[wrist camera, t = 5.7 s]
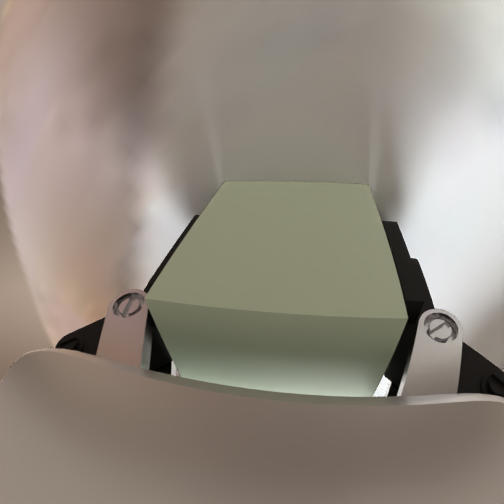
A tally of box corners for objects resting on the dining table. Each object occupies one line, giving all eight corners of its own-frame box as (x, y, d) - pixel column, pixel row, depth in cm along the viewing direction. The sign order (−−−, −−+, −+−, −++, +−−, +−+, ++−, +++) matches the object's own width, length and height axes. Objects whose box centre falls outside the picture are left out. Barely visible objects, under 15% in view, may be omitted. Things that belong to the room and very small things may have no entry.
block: (368, 184, 9) (408, 318, 5) (353, 293, 12) (356, 425, 7) (225, 180, 10) (144, 298, 6) (239, 286, 13) (198, 408, 9)
